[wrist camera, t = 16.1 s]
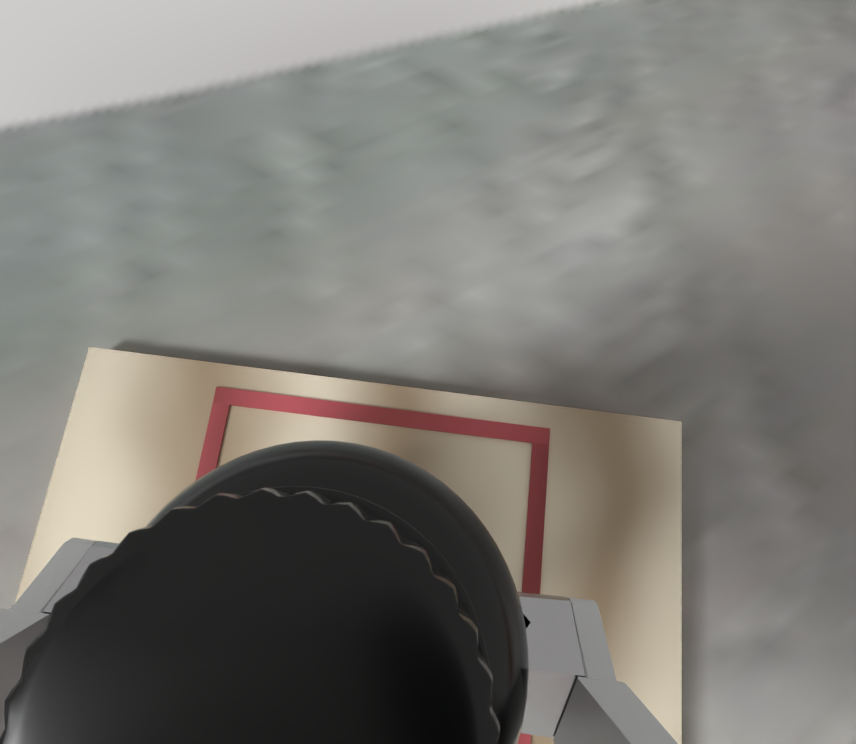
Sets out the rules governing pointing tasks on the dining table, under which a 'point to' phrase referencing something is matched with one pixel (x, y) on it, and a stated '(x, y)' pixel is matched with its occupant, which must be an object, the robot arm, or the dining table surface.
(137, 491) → the marked board
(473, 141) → the dining table surface
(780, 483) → the dining table surface
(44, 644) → the supplement bottle
